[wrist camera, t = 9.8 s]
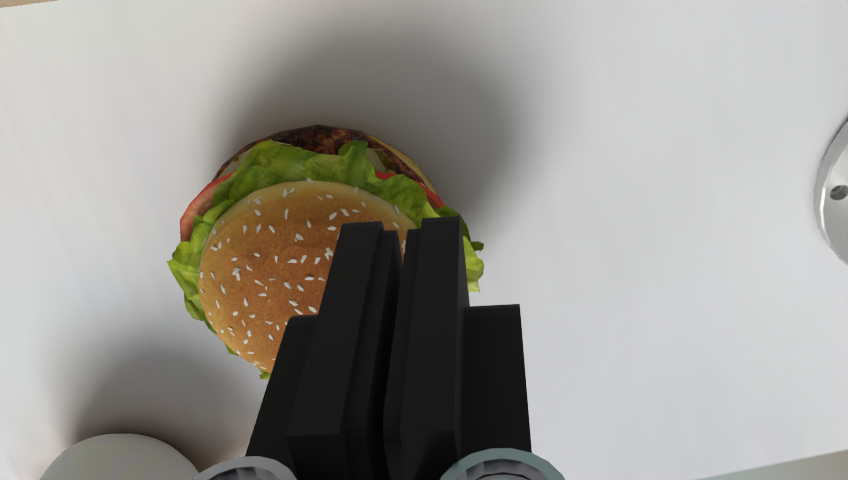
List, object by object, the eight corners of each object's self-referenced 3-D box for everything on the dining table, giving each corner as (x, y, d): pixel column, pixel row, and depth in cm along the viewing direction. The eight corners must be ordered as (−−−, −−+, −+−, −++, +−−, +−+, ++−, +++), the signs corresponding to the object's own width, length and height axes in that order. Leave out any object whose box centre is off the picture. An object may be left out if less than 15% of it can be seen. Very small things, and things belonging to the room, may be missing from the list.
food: (333, 367, 46) (316, 478, 39) (146, 210, 39) (89, 310, 33) (526, 249, 41) (544, 353, 34) (347, 47, 35) (327, 127, 28)
